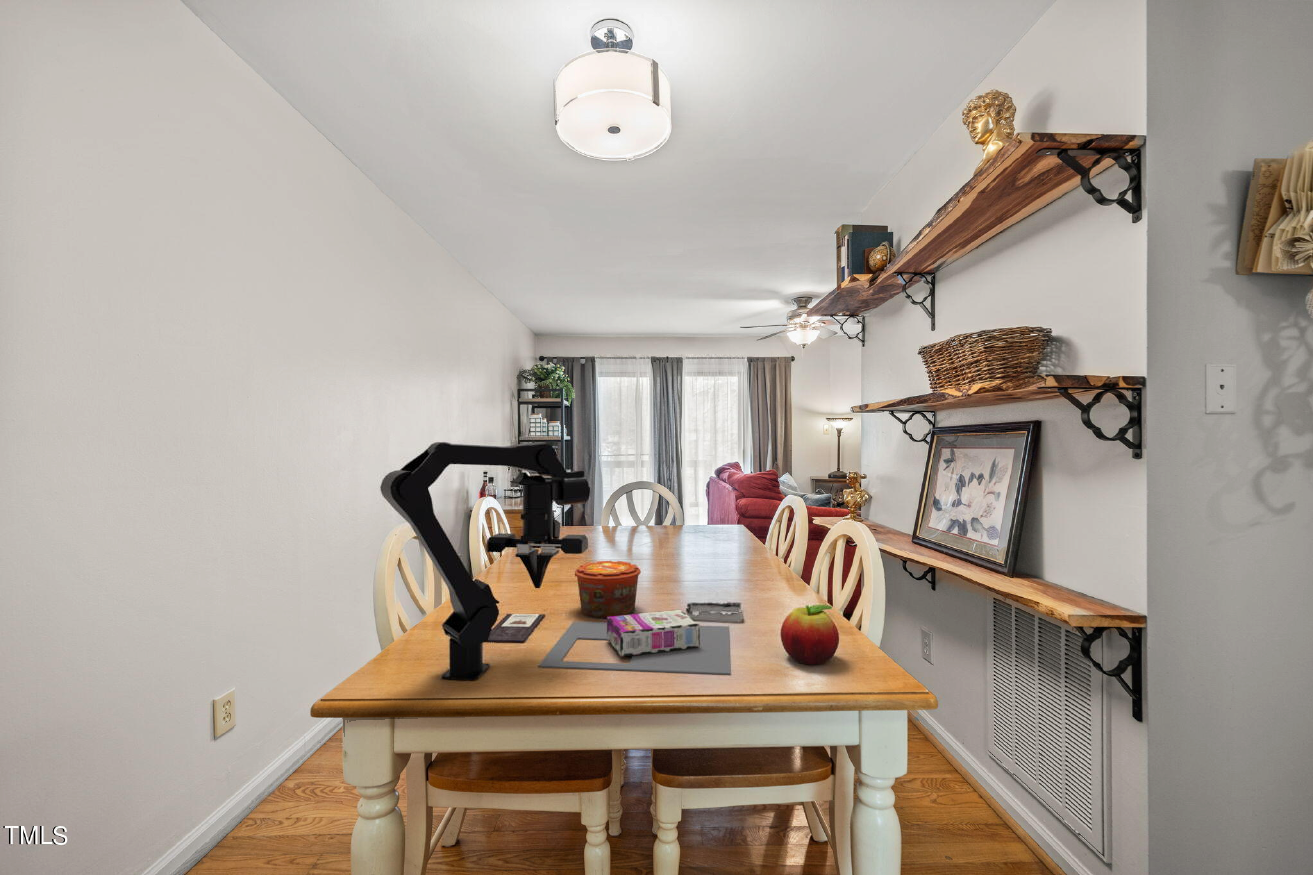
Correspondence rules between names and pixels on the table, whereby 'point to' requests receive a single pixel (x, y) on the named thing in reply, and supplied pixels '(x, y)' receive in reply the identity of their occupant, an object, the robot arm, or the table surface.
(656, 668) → the rubber mat
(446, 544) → the robot arm
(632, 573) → the food container
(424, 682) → the table surface
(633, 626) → the candy bar box
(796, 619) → the fruit
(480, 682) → the table surface
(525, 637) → the chocolate bar
